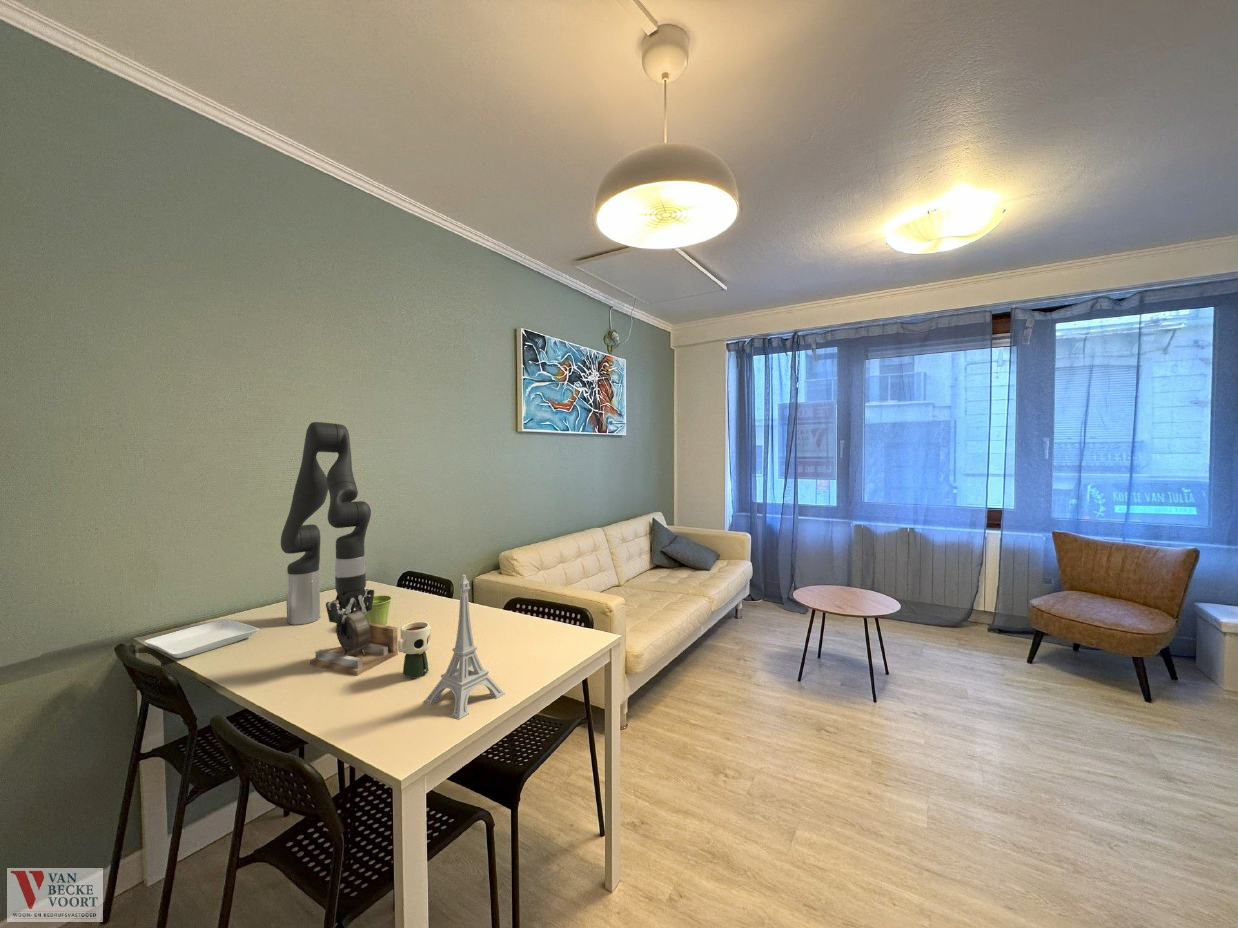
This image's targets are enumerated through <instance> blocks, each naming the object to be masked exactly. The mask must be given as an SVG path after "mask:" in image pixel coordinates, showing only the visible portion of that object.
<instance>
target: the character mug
mask: <svg viewBox="0 0 1238 928" xmlns="http://www.w3.org/2000/svg"><path fill="white" fill-rule="evenodd" d="M431 637H432V627H431V626H430V623H429V622H427V621H413V622H408V623H406V624H404V625H402V626H401V627H400V639H398V652H399V653H402V654H405V655H404V659H403V660H404V661H403V669H402V675H403V676H405V677H406V678H407V677H408V678H411V679H412V678H419V677H422V676H424V671H425V674H427V673H429V663H428V657H427V652H426V651H428V649H429V648H430V646H431Z"/></svg>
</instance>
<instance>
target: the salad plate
mask: <svg viewBox="0 0 1238 928" xmlns="http://www.w3.org/2000/svg"><path fill="white" fill-rule="evenodd" d="M258 631H259V627H255V626H253V625H249V624H246V623H243V622H240V621H236V620H233V619H230V618H224V619H223V618H222V619H220V620H215V621H212V622H211V621H210V622H206V623H203V624H199V625H196V626H195V625H194V626H192V627H186V628H183V629H180V630H177V631H174V632H170V633H167V634H166V633H165V634H163V635H158V636H155V637H151V638H148V639H146V640H144V642H143V643H144V644H145V645H147V646H149V647H151V648H153V649H156V650H159V651H161V652H164V653H166V654H168V655H170V656H171V657H173V658H176V659H181V658H187V657H194V656H196V655H200V654H202V653H206V652H209V651H213V650H215V649H219V648H221V647H225V646H228V645H231V644H235V643H238V642H240V641H242V640H245V639H247V638H249V637H251V636H252V635H254V634H256V633H257V632H258Z"/></svg>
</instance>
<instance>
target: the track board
mask: <svg viewBox="0 0 1238 928" xmlns="http://www.w3.org/2000/svg"><path fill="white" fill-rule="evenodd" d="M369 625H370V629H371V639H370V642H369V644H368V646H367V647H364V648H363V649H364V652H365V656H363V654H362V652H361V650H357V651H355V652H347V653H346V655H344V653H345V649H343V647H342V646H341V645H340V646H338V647H336V648H334V649H332V650H330V651H327V650H322V649H320V650H318V651H315V655H314V657H313V658H312V659H311V658H310V659H309V665H311V666H316V667H320V668H325V669H328V670H329V669H330V670H333V671H337V672H341V673H346V674H351V675H355V676H359V675H361V674H363V673H364V672H367V671H369V670H370V669H373V668H374V667H376V666H379V665H380V664H383V663H384V662H387V661H388V660H390V659H392V658H394V657H396V656H398V652H399V651H398V641H399V639H398V627H397V626H391V625H387V624H385V625H380V624H375V623H369Z"/></svg>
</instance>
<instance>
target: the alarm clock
mask: <svg viewBox="0 0 1238 928" xmlns="http://www.w3.org/2000/svg"><path fill="white" fill-rule="evenodd" d="M354 602H355V606H354V608H352V609H351V610H350V612H349V614H348V615H347V618H346V621H345V622H346V635H345V636H339V635H338V634H337V623H335V624H336V625H335V631H336V636H337V640H338V643H339V644H340V647H341V646H342V647H343V649H345V653H344V655H346V653H347V652H355V651H357V650H361V652H362V654H363V656H365V652H364V649H363V648H364V647H367V646H368V644H369V642H370V639H371V629H370V625H369V622H368V619H367V617H366V616H365V614H364V613H363V612H361V611H360V610H356V609H355V607H356V601H355V599H354ZM341 618H342V616H341Z"/></svg>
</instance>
